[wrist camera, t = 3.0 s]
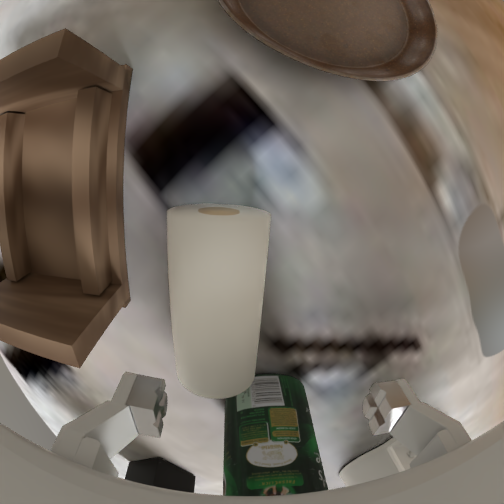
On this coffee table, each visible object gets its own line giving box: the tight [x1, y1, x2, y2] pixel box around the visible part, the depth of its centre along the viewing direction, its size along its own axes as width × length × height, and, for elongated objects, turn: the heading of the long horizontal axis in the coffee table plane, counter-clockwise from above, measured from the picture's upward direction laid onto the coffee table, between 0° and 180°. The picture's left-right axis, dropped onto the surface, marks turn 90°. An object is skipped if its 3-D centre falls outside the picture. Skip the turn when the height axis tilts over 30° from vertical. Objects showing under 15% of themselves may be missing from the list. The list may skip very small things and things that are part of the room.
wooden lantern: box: [0, 28, 133, 368], centre depth 13 cm, size 18×12×9 cm, turn 176°
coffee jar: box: [223, 374, 328, 496], centre depth 16 cm, size 10×8×19 cm
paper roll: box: [167, 203, 271, 399], centre depth 17 cm, size 12×6×6 cm
